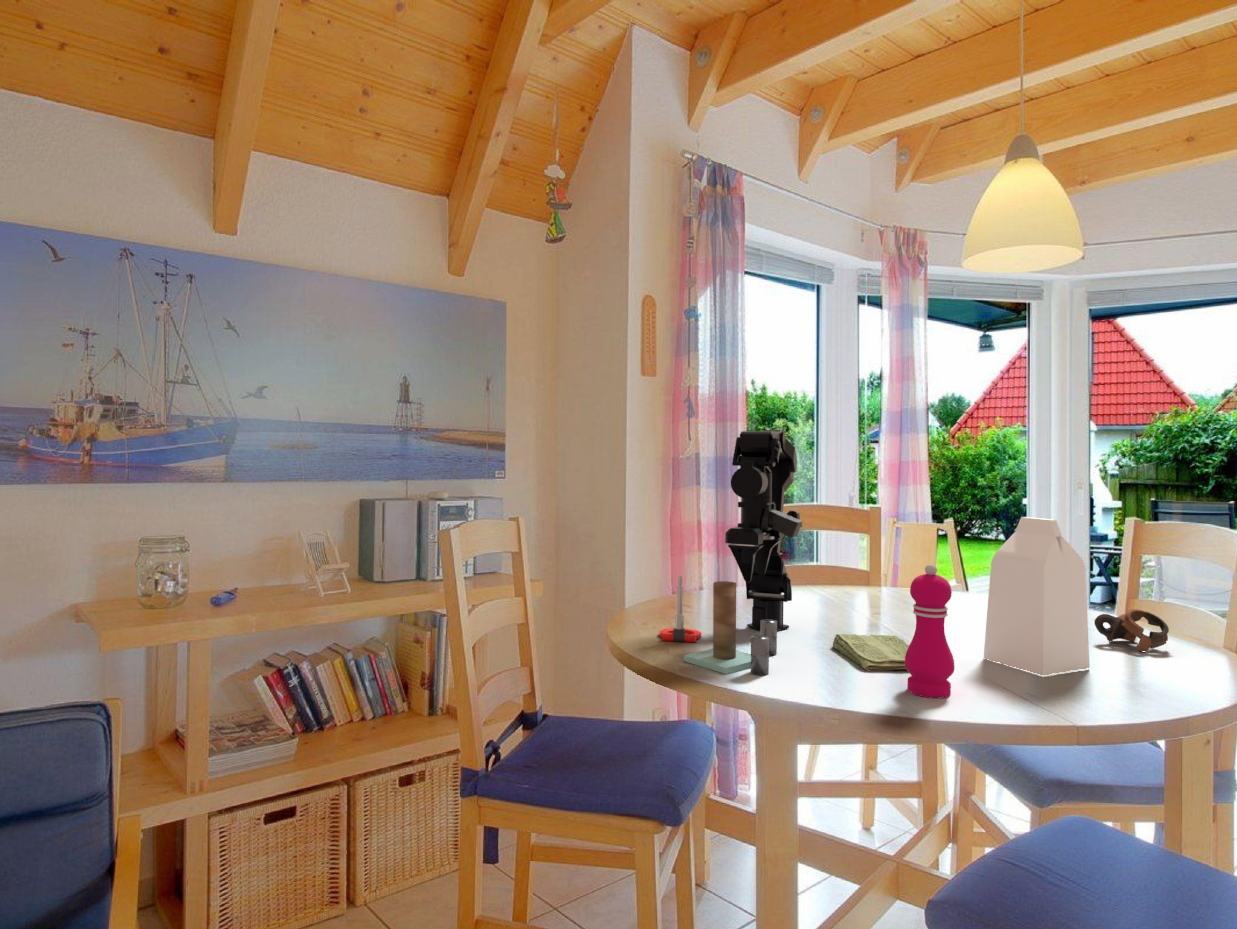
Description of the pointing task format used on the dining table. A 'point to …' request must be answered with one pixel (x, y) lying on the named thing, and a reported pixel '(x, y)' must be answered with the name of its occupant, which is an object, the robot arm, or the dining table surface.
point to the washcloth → (873, 650)
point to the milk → (1037, 602)
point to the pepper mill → (930, 637)
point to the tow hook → (680, 623)
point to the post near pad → (759, 655)
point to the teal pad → (719, 661)
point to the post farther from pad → (770, 634)
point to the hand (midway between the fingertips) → (755, 578)
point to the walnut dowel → (724, 620)
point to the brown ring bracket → (1133, 628)
